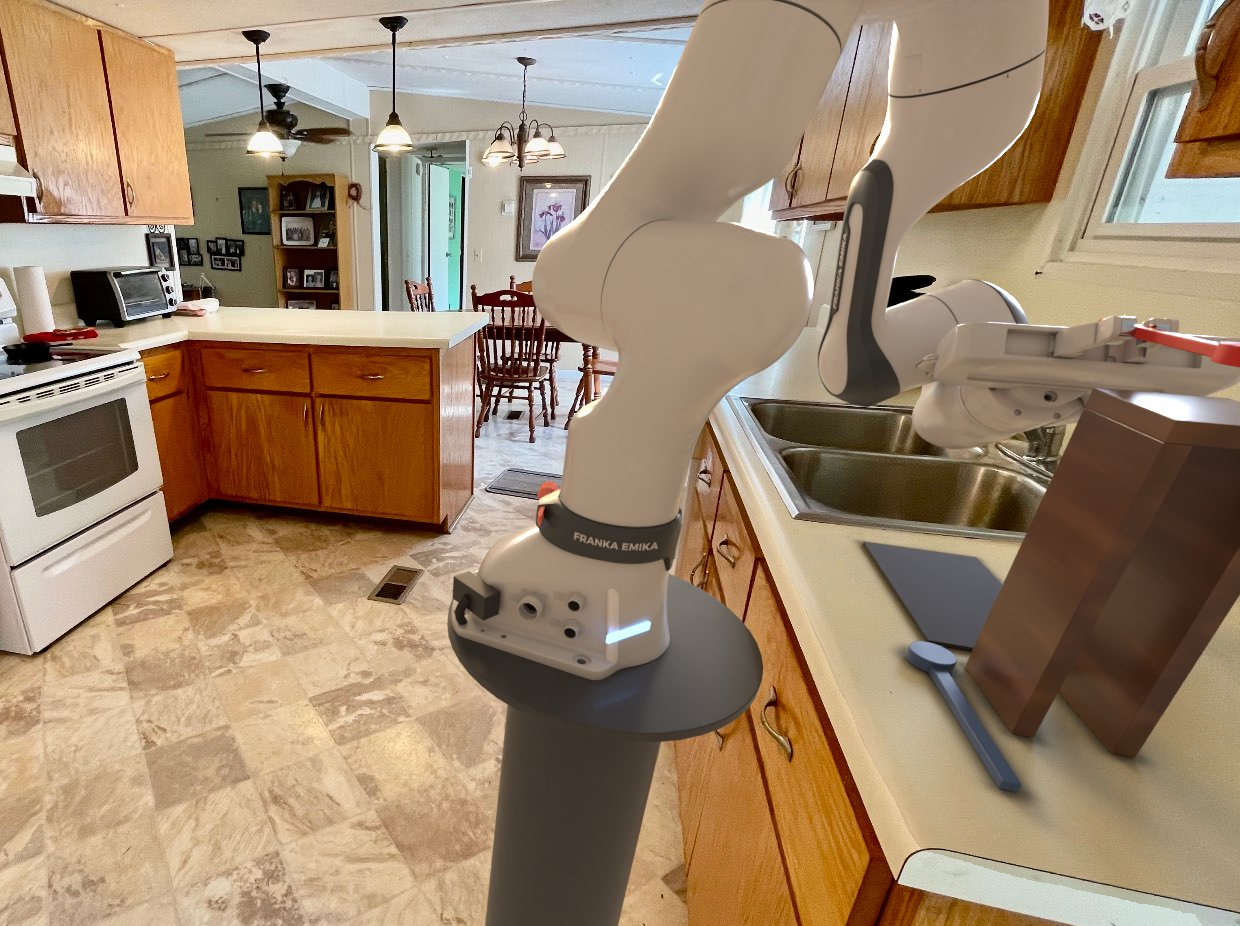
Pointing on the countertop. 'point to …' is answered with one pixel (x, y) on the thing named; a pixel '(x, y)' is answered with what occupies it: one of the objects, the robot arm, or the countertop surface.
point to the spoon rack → (1120, 568)
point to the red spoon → (1192, 344)
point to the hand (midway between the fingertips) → (1146, 326)
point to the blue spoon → (962, 709)
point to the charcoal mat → (939, 591)
